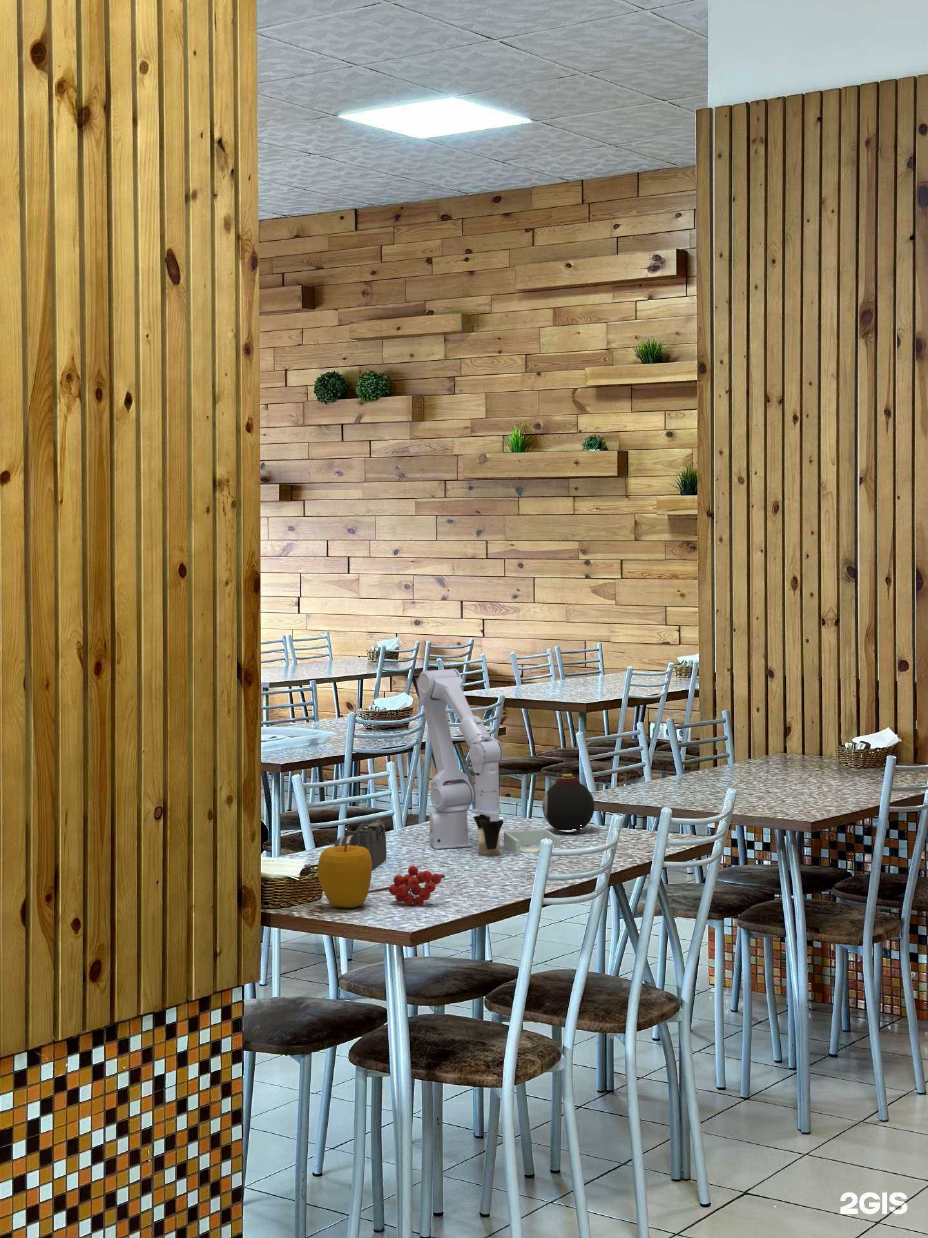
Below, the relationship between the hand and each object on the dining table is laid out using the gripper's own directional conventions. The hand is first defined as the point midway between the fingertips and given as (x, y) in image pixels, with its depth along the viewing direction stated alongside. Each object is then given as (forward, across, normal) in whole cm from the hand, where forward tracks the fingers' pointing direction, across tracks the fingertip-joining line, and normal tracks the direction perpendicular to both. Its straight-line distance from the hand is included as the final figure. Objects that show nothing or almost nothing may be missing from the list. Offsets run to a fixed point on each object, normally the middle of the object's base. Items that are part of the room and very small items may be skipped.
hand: (489, 847), depth 349 cm
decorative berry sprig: (+2, +37, -24) cm, 44 cm away
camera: (+2, +2, -31) cm, 32 cm away
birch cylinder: (+2, 0, 0) cm, 2 cm away
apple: (+2, +47, -40) cm, 62 cm away
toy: (+2, -22, +26) cm, 34 cm away
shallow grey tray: (+2, -2, +11) cm, 11 cm away
